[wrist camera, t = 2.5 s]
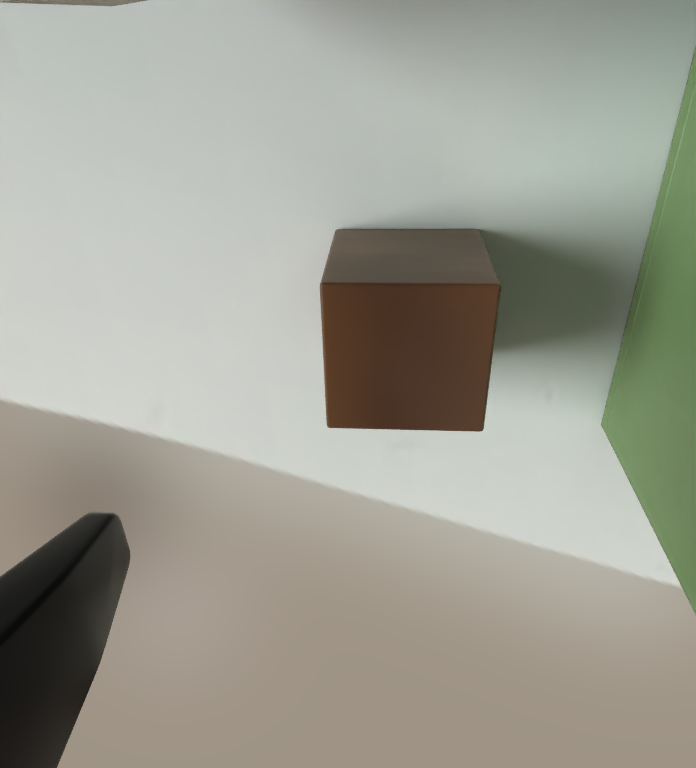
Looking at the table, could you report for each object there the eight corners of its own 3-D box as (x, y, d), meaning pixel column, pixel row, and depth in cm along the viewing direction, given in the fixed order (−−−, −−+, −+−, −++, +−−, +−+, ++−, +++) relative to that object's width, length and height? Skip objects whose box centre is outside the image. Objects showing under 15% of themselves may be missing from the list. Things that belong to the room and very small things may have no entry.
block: (480, 228, 16) (501, 285, 13) (467, 355, 18) (483, 432, 15) (335, 228, 17) (319, 283, 13) (339, 353, 19) (326, 428, 15)
